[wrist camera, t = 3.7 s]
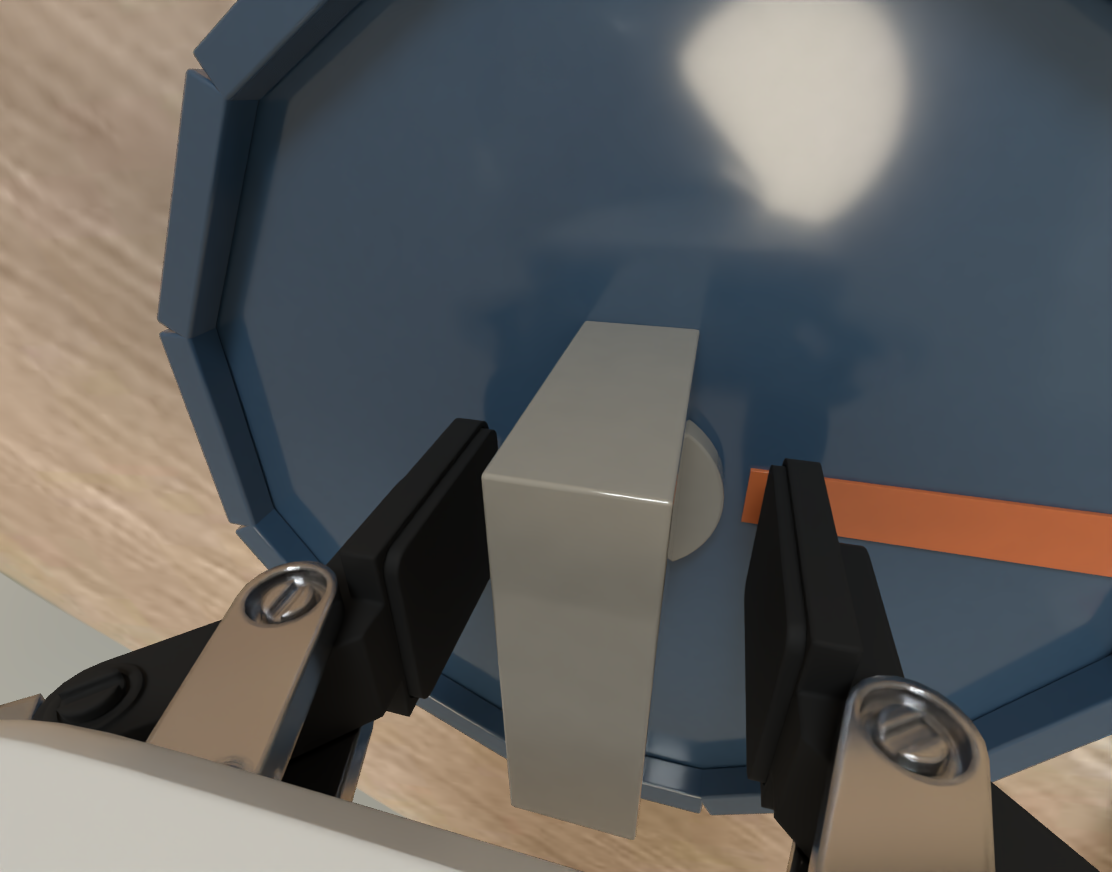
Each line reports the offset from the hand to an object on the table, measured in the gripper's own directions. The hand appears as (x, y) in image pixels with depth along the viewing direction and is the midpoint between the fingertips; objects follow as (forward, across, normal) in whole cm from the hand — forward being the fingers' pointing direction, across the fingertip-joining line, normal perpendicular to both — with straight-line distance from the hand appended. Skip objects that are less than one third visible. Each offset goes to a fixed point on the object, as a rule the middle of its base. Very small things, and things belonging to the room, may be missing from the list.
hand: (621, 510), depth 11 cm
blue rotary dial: (+2, 0, 0) cm, 2 cm away
